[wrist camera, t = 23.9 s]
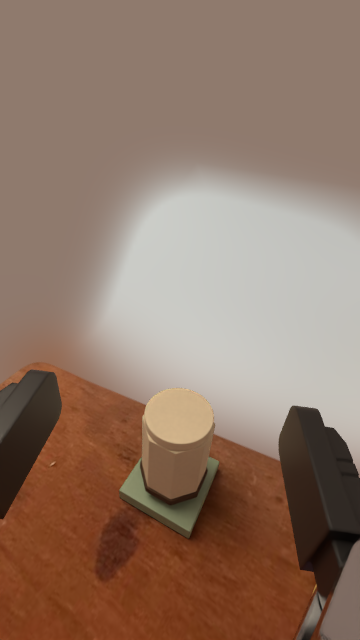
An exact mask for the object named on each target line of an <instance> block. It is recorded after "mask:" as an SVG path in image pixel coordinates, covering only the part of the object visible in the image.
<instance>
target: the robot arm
mask: <svg viewBox="0 0 360 640" xmlns="http://www.w3.org/2000/svg"><path fill="white" fill-rule="evenodd" d="M61 407H62V403H61V397H60V393H59V388H58V383H57V378H56V375H55V373H53V372H47V371H39V370H30V371H28V372H27V373H26V374H25V376H24V377H23V378H22V380H21V381H20V382H19V383H18V384H17V383H11V384H10V385H8V386H7V387H5V388H4V389H2V390H1V391H0V519H4V517H5V515H6V513H7V511H8V510H9V508H10V506H11V504H12V502H13V501H14V499H15V497H16V495H17V493H18V491H19V490H20V488H21V486H22V484H23V482H24V481H25V479H26V477H27V475H28V473H29V472H30V470H31V468H32V466H33V464H34V463H35V461H36V459H37V457H38V455H39V454H40V452H41V450H42V448H43V446H44V445H45V443H46V441H47V439H48V437H49V436H50V434H51V432H52V430H53V428H54V426H55V425H56V423H57V421H58V419H59V416H60V413H61ZM279 455H280V461H281V467H282V472H283V478H284V483H285V489H286V494H287V500H288V505H289V511H290V516H291V522H292V527H293V533H294V538H295V544H296V549H297V555H298V560H299V566H300V570H306V571H312V572H314V575H315V580H316V584H317V587H316V588H315V590H314V592H313V595H312V597H311V599H310V602H309V604H308V606H307V608H306V611H305V613H304V615H303V617H302V620H301V622H300V624H299V626H298V629H297V631H296V633H295V636H294V638H293V640H360V478H359V477H358V475H359V474H358V471H357V469H356V466H355V464H353V459H352V457H351V454H350V452H349V449H348V447H347V444H346V442H345V441H344V440H343V439H342V438H341V436H340V435H339V434H338V433H337V431H336V430H335V429H334V428H330V427H325V426H324V423H323V420H322V417H321V415H320V412H319V411H318V409H315V408H308V407H300V406H292V407H291V408H290V411H289V413H288V416H287V418H286V421H285V423H284V426H283V428H282V431H281V433H280V437H279Z"/></svg>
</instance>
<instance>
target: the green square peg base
mask: <svg viewBox="0 0 360 640" xmlns="http://www.w3.org/2000/svg"><path fill="white" fill-rule="evenodd" d="M141 460H142V457H141V458H140V460H139V461H138V463H137V464H136V466H135V467H134V469H133V470H132V472H131V473H130V475H129V476H128V478H127V479H126V481H125V482H124V484H123V485H122V487H121V488H120V490H119V494H120V498H121V499H123V500H124V501H126V502H128V503H129V504H131V505H133V506H134V507H136V508H138V509H139V510H141V511H143V512H144V513H146V514H148V515H149V516H151V517H153V518H154V519H156V520H158V521H160V522H161V523H163V524H165V525H166V526H168V527H170V528H171V529H173V530H175V531H176V532H178V533H180V534H181V535H183V536H185V537H186V538H188V539H189V537H190V535H191V532H192V530H193V528H194V525H195V523H196V520H197V518H198V516H199V513H200V511H201V508H202V506H203V503H204V501H205V499H206V496H207V494H208V491H209V489H210V487H211V484H212V482H213V479H214V477H215V474H216V472H217V470H218V466H219V461H217V460H215V459H213V458H211V457H208V462H207V466H206V467H207V469H208V472H207V475H206V477H205V480H204V482H203V484H202V486H201V489H200V491H199V493H198V496H197V497H196V498H193V499H190V500H186V501H183V502H180V503H177V504H174V505H168V504H167V503H165V502H163V501H161V500H160V499H158V498H156V497H154V496H153V495H151V494H149V493H147V492H146V491H145V487H144V482H143V478H142V474H141V469H140V462H141Z"/></svg>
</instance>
